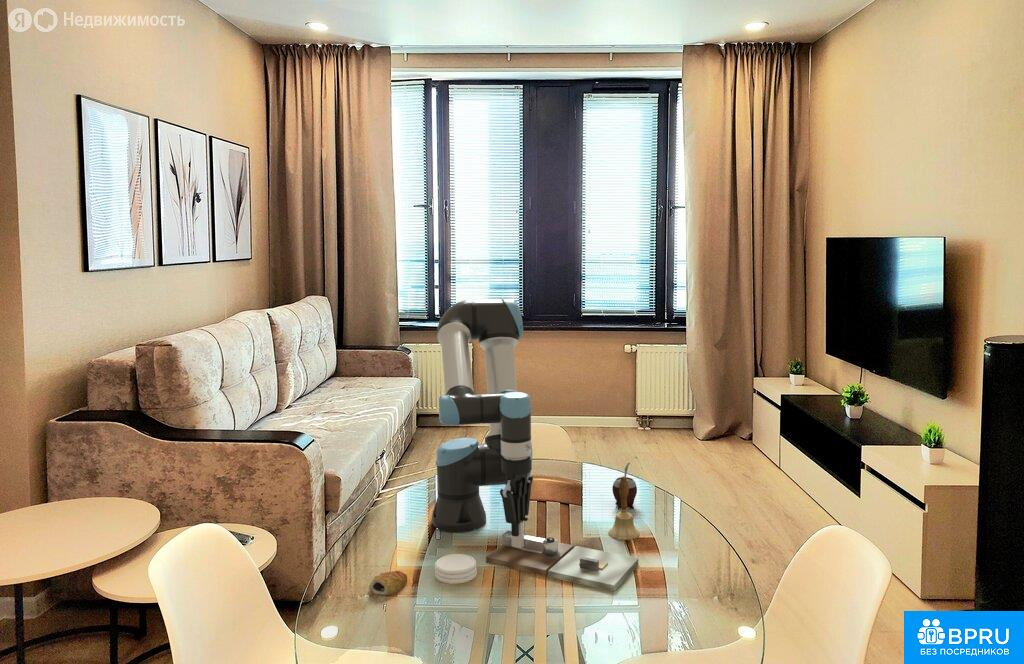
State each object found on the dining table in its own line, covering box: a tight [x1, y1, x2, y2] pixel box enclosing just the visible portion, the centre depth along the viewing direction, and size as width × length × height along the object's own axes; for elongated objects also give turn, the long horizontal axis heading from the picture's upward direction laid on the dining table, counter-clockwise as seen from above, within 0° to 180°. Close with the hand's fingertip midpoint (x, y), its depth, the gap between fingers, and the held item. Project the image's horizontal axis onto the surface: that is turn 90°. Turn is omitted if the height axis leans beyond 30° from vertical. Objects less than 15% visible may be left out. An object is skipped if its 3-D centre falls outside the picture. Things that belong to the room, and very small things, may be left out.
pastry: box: [368, 570, 408, 596], centre depth 190 cm, size 9×7×4 cm
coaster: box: [434, 553, 478, 585], centre depth 196 cm, size 10×10×4 cm
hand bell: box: [607, 476, 641, 541], centre depth 217 cm, size 8×8×16 cm
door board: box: [485, 541, 639, 592], centre depth 201 cm, size 34×16×4 cm, turn 61°
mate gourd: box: [611, 462, 638, 510], centre depth 237 cm, size 8×8×15 cm
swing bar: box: [501, 530, 559, 556], centre depth 205 cm, size 15×4×4 cm, turn 61°
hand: (517, 546), depth 204 cm, fingers closed
